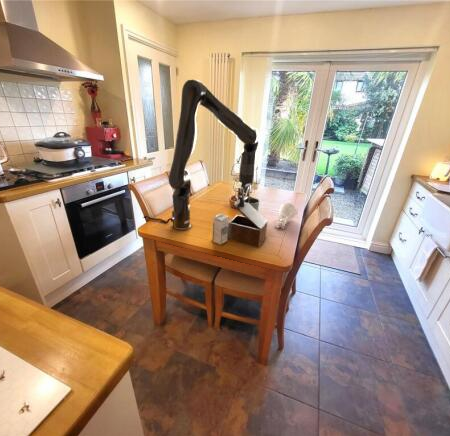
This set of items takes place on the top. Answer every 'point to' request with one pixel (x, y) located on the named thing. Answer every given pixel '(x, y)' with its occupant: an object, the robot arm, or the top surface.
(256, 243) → the case
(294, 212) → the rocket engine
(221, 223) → the syrup box
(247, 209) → the case lid
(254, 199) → the grey cup
